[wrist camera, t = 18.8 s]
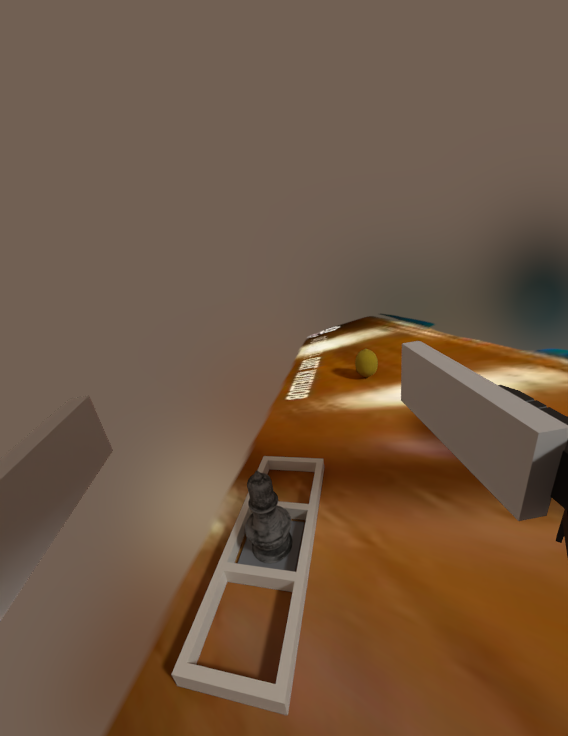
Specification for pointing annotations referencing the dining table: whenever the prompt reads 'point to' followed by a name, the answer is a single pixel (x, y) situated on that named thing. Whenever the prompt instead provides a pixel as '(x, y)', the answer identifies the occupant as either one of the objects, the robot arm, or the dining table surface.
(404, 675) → the dining table surface
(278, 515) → the dark chess piece
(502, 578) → the dining table surface
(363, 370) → the lemon
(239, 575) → the pocket rack
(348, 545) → the dining table surface
